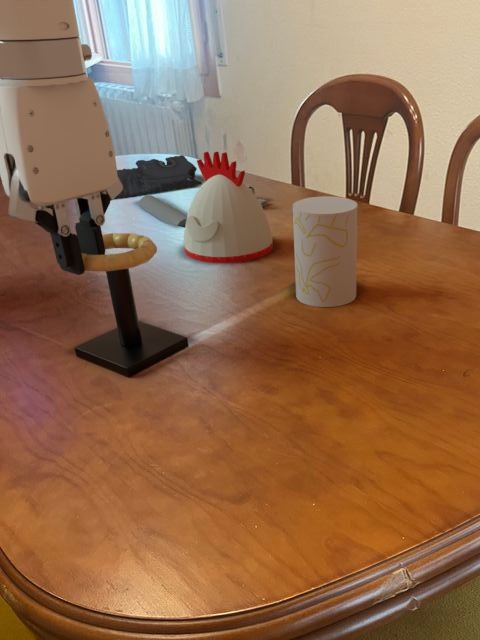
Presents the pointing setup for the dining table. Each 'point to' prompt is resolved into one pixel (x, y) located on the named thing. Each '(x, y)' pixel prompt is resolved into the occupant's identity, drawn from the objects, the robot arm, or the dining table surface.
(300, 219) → the white patterned cylinder
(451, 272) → the dining table surface
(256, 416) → the dining table surface
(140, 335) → the post
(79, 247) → the robot arm
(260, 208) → the white chicken hat
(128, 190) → the black rough slab
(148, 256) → the ring
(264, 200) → the strap clip
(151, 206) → the gray half cylinder
